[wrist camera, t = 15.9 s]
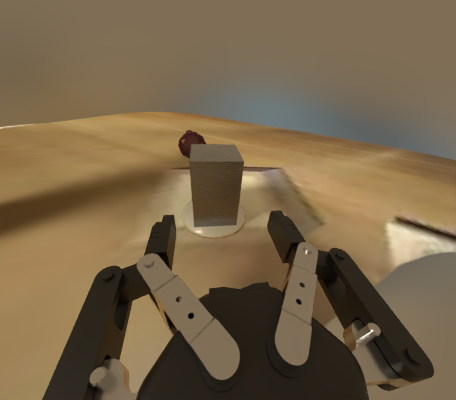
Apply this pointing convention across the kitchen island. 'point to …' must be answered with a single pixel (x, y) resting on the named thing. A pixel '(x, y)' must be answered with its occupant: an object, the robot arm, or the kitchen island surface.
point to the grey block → (215, 184)
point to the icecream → (189, 142)
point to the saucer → (211, 230)
